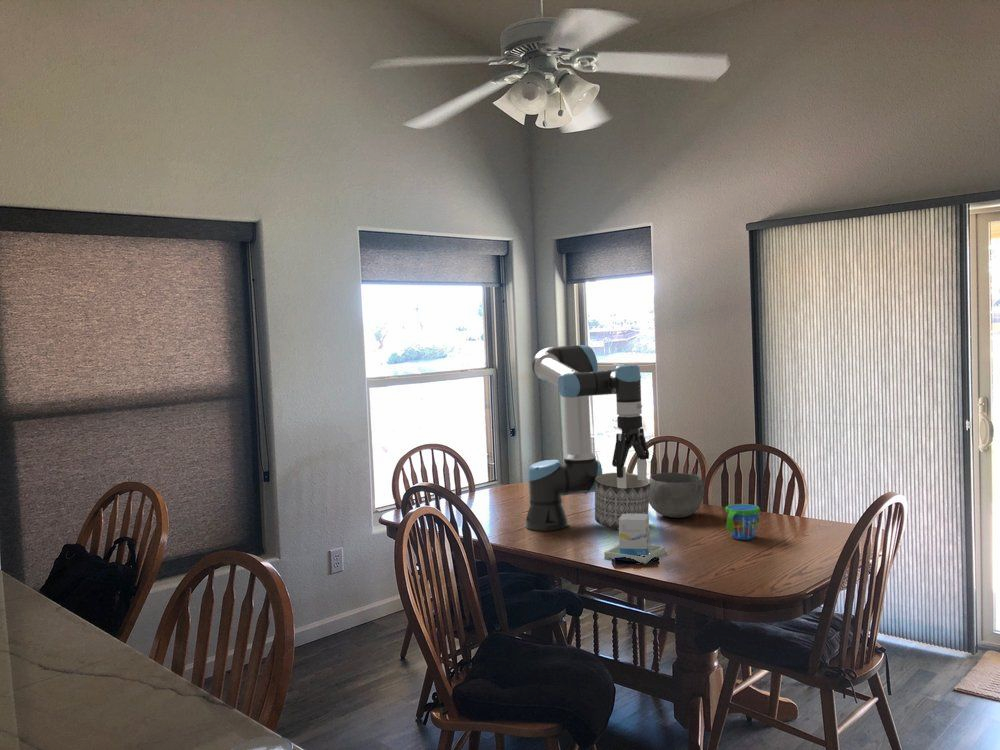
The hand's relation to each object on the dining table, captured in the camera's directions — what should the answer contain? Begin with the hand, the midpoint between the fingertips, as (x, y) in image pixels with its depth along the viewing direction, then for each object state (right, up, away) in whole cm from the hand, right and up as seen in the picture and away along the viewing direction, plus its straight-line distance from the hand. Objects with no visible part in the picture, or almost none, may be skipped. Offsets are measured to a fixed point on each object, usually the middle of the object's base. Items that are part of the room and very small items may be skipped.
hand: (632, 484), depth 254 cm
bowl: (+24, -19, +50) cm, 58 cm away
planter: (+2, -20, +39) cm, 44 cm away
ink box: (+1, -22, +2) cm, 22 cm away
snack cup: (+39, -20, +16) cm, 46 cm away
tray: (+1, -22, +1) cm, 22 cm away
